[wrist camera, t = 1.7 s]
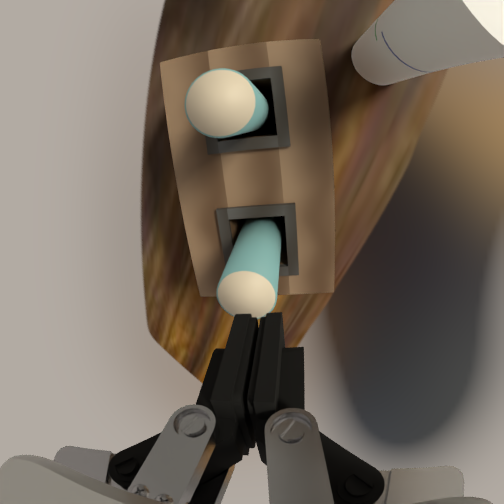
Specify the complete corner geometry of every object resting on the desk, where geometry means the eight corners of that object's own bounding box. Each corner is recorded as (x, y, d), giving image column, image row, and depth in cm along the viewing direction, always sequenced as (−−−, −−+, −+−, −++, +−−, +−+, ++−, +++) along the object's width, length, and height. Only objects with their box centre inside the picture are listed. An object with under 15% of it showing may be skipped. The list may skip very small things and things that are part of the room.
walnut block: (223, 249, 41) (199, 299, 30) (198, 78, 31) (157, 61, 20) (322, 244, 39) (334, 294, 28) (309, 65, 29) (320, 37, 18)
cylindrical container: (364, 90, 29) (487, 54, 7) (342, 41, 27) (419, -62, 4) (411, 80, 27) (552, 56, 5) (389, 32, 25) (501, -44, 2)
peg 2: (240, 212, 29) (211, 271, 18) (280, 209, 28) (274, 268, 18) (245, 248, 31) (221, 320, 20) (283, 246, 30) (278, 319, 19)
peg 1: (225, 94, 24) (180, 76, 13) (268, 88, 23) (252, 63, 13) (230, 133, 26) (189, 143, 15) (272, 129, 25) (261, 133, 14)
